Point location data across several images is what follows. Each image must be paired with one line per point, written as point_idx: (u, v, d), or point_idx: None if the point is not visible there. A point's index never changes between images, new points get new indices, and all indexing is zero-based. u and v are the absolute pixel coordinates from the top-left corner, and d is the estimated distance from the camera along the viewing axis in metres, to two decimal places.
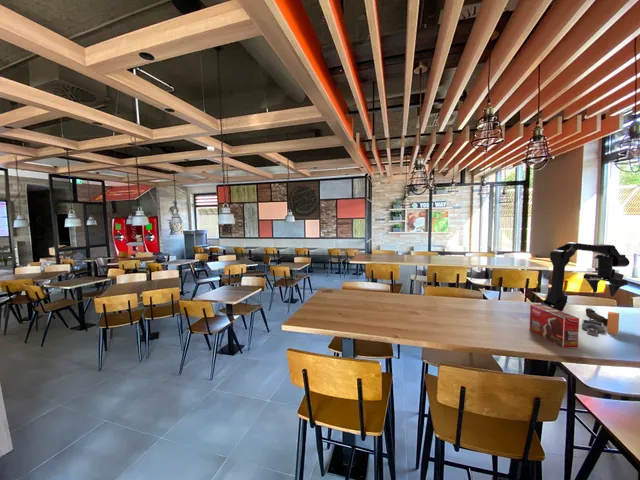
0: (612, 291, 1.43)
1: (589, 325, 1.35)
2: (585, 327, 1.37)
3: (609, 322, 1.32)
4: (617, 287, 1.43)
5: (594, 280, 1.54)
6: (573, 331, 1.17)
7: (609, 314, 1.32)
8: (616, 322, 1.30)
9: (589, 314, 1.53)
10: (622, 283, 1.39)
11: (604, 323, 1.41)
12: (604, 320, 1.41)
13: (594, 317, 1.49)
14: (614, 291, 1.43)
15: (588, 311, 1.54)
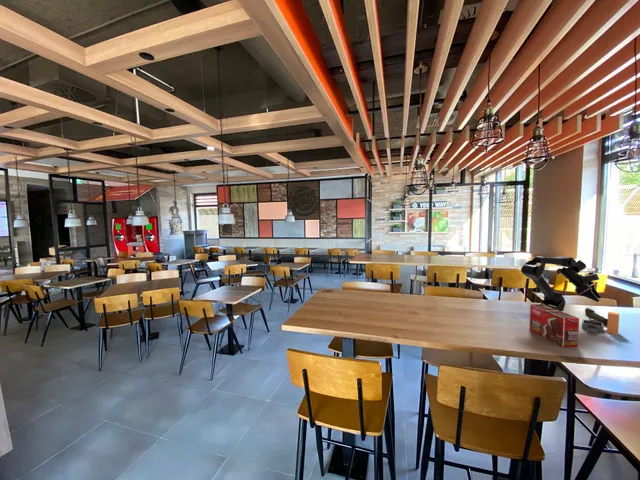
0: (590, 298, 1.41)
1: (589, 325, 1.35)
2: (585, 327, 1.37)
3: (609, 322, 1.32)
4: (590, 292, 1.41)
5: None
6: (573, 331, 1.17)
7: (609, 314, 1.32)
8: (616, 322, 1.30)
9: (589, 314, 1.54)
10: (582, 289, 1.41)
11: (604, 323, 1.41)
12: (604, 320, 1.41)
13: (594, 317, 1.49)
14: (592, 297, 1.40)
15: (587, 311, 1.54)
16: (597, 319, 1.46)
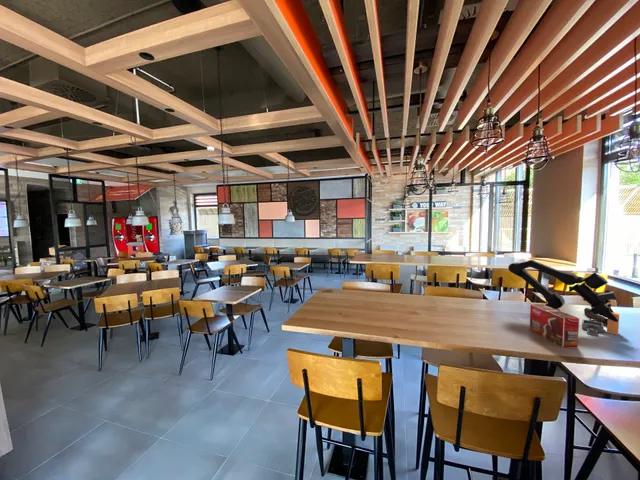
0: (608, 317, 1.31)
1: (589, 325, 1.35)
2: (585, 327, 1.37)
3: (609, 322, 1.32)
4: (607, 311, 1.31)
5: None
6: (573, 331, 1.17)
7: None
8: (616, 322, 1.30)
9: (588, 314, 1.54)
10: (598, 310, 1.29)
11: (605, 323, 1.41)
12: (605, 320, 1.41)
13: (594, 317, 1.49)
14: (610, 316, 1.31)
15: (587, 311, 1.54)
16: (598, 319, 1.46)
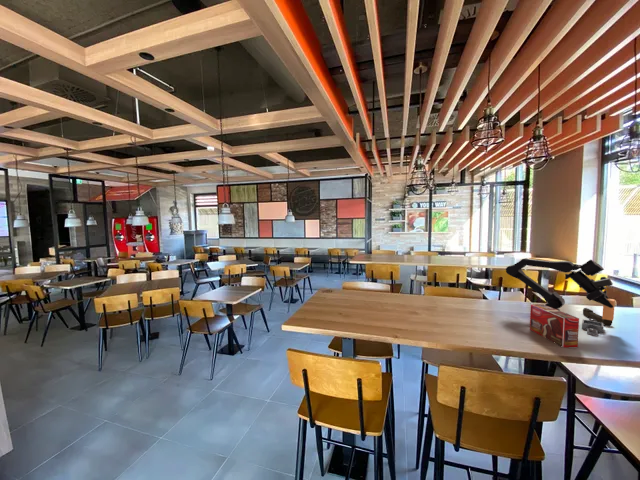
0: (603, 303, 1.32)
1: (589, 325, 1.35)
2: (585, 327, 1.37)
3: (604, 308, 1.33)
4: (603, 298, 1.32)
5: None
6: (573, 331, 1.17)
7: None
8: (611, 308, 1.31)
9: (587, 314, 1.54)
10: (594, 296, 1.30)
11: (606, 323, 1.41)
12: (606, 320, 1.41)
13: (594, 317, 1.49)
14: (605, 302, 1.31)
15: (586, 311, 1.54)
16: (598, 319, 1.46)
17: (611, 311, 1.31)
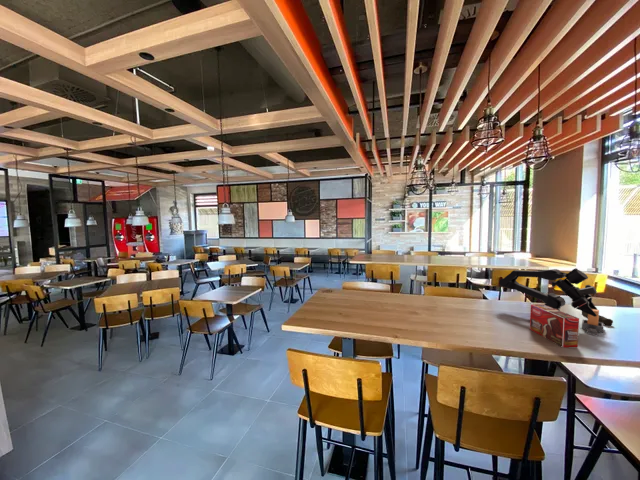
0: (587, 312, 1.35)
1: (589, 325, 1.35)
2: (585, 327, 1.37)
3: (589, 318, 1.37)
4: (587, 306, 1.34)
5: None
6: (573, 331, 1.17)
7: None
8: (595, 318, 1.35)
9: (587, 314, 1.54)
10: (578, 304, 1.34)
11: (607, 323, 1.41)
12: (607, 320, 1.41)
13: None
14: (589, 311, 1.34)
15: None
16: None
17: (595, 321, 1.35)
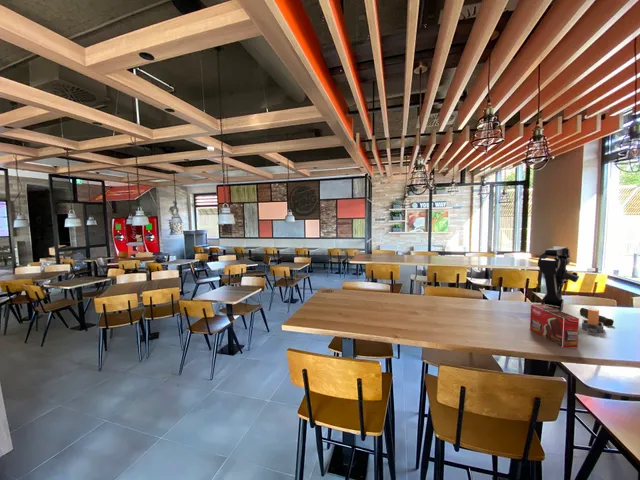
0: None
1: (589, 325, 1.35)
2: (585, 327, 1.37)
3: (589, 318, 1.37)
4: (558, 286, 1.53)
5: None
6: (573, 331, 1.17)
7: (589, 311, 1.37)
8: (595, 318, 1.35)
9: (586, 314, 1.54)
10: None
11: (608, 323, 1.41)
12: (608, 320, 1.41)
13: None
14: None
15: (584, 311, 1.54)
16: (599, 319, 1.45)
17: (595, 321, 1.35)
